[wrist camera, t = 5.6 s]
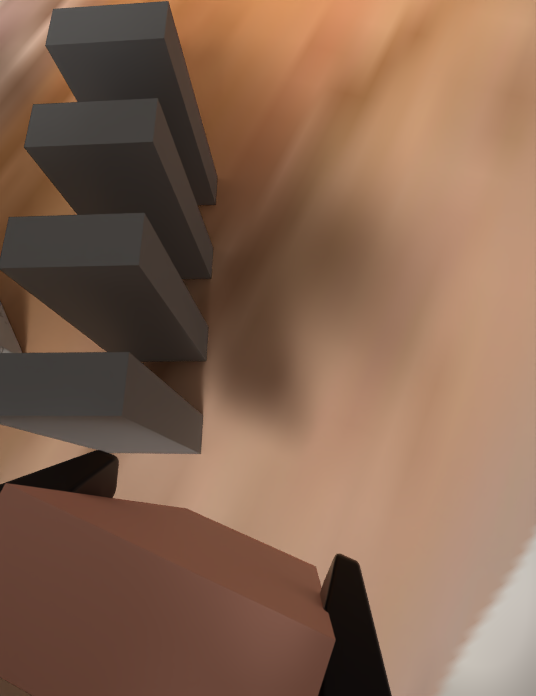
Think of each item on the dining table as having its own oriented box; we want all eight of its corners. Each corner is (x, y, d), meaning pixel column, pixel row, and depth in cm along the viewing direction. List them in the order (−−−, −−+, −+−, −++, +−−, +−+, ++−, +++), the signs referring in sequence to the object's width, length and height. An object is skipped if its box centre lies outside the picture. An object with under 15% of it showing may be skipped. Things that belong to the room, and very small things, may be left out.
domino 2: (211, 278, 25) (152, 141, 16) (129, 280, 26) (24, 147, 16) (213, 248, 26) (157, 98, 16) (133, 249, 26) (33, 104, 17)
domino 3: (206, 361, 24) (138, 265, 14) (119, 361, 24) (-3, 268, 15) (208, 327, 24) (144, 212, 15) (123, 328, 25) (9, 217, 15)
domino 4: (200, 453, 22) (121, 416, 13) (109, 452, 23) (-34, 415, 13) (203, 415, 23) (129, 351, 14) (113, 415, 23) (-20, 353, 14)
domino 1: (215, 204, 27) (164, 38, 17) (137, 207, 27) (45, 45, 17) (217, 177, 27) (168, 1, 18) (141, 179, 28) (53, 9, 18)
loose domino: (294, 629, 14) (274, 834, 5) (161, 565, 15) (-78, 632, 6) (315, 566, 15) (335, 640, 5) (186, 508, 15) (5, 483, 6)
